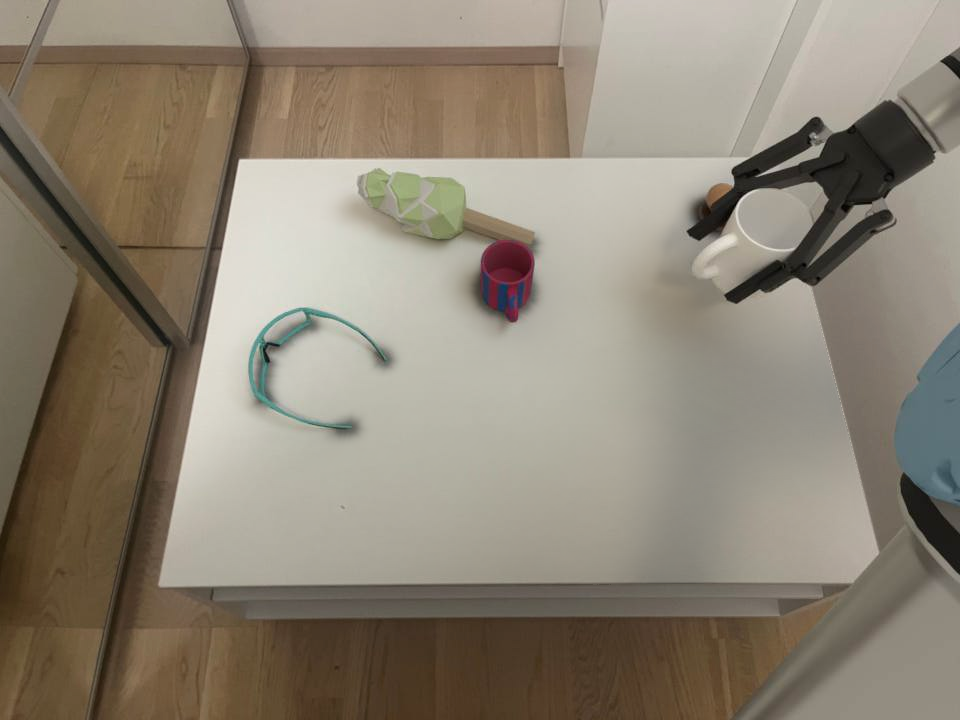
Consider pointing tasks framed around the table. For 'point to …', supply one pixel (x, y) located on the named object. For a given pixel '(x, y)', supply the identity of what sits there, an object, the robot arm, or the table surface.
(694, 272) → the mug
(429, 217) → the decorative object
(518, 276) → the cup
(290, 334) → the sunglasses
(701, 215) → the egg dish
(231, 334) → the table surface
